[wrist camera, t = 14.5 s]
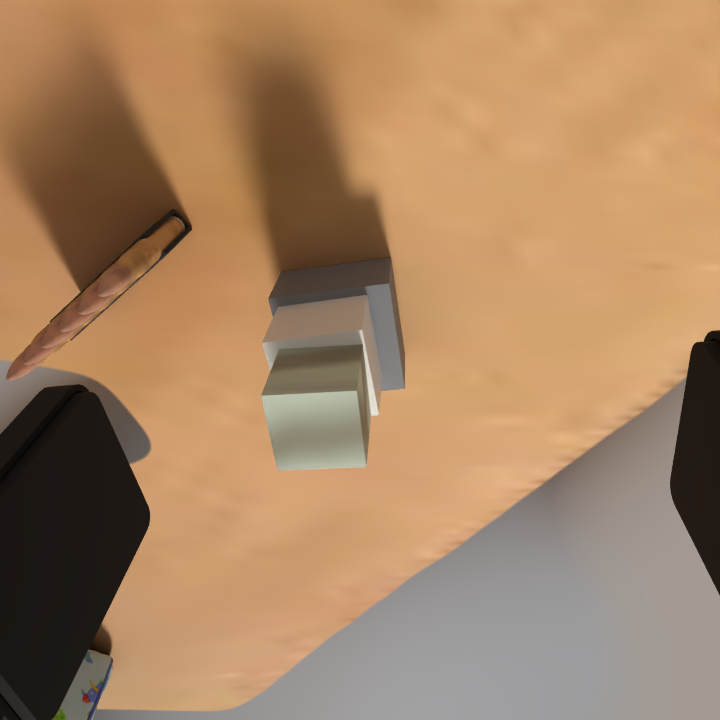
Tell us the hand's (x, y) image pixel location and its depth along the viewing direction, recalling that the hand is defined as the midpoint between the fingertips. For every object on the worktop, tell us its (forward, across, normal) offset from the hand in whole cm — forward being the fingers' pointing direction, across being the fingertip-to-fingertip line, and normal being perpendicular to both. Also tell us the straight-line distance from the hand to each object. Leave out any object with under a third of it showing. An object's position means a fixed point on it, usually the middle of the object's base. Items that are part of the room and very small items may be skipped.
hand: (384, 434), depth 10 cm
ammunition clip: (+32, +21, +8) cm, 39 cm away
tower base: (+32, +6, +14) cm, 36 cm away
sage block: (+22, +6, +14) cm, 27 cm away
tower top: (+27, +6, +14) cm, 31 cm away
